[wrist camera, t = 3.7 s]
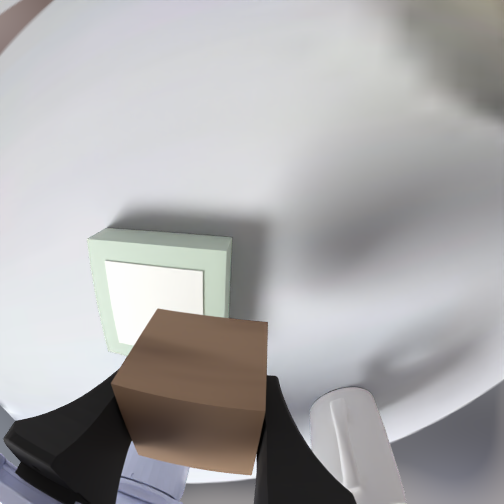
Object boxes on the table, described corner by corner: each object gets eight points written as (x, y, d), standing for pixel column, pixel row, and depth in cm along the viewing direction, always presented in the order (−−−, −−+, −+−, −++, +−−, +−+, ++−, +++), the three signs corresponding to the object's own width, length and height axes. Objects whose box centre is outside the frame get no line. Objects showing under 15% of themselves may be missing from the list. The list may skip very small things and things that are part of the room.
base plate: (227, 350, 21) (223, 373, 19) (121, 333, 21) (107, 352, 19) (232, 237, 18) (226, 251, 16) (106, 227, 18) (86, 239, 16)
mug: (378, 415, 24) (404, 513, 12) (315, 433, 25) (323, 534, 13) (368, 348, 20) (414, 479, 9) (287, 373, 22) (292, 510, 10)
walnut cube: (256, 396, 14) (251, 475, 9) (166, 383, 14) (138, 454, 10) (267, 322, 12) (265, 411, 8) (157, 308, 12) (110, 383, 8)
